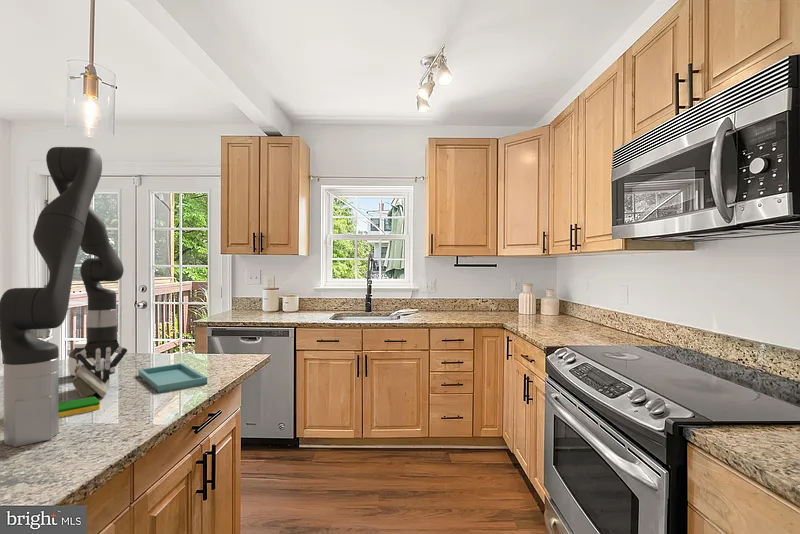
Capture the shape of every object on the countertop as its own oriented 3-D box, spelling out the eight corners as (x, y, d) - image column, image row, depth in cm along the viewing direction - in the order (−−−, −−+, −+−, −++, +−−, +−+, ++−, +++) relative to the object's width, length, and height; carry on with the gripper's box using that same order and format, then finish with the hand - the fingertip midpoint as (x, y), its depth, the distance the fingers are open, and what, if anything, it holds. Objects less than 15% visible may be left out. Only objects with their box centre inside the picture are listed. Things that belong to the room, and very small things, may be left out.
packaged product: (97, 389, 134) (71, 368, 131) (111, 378, 136) (86, 357, 133) (92, 406, 119) (62, 383, 116) (108, 393, 121) (79, 370, 117)
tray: (207, 384, 136) (207, 377, 136) (158, 393, 126) (158, 385, 126) (182, 369, 155) (182, 363, 155) (138, 376, 145) (138, 369, 145)
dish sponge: (100, 411, 112) (100, 402, 112) (31, 425, 102) (31, 415, 102) (95, 404, 117) (95, 396, 117) (28, 417, 108) (28, 407, 108)
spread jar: (64, 377, 143) (64, 343, 143) (97, 369, 154) (96, 337, 154) (90, 380, 140) (90, 345, 139) (122, 372, 150) (122, 339, 150)
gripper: (75, 328, 120) (75, 389, 120) (131, 323, 129) (130, 380, 129) (72, 325, 125) (72, 384, 125) (125, 321, 135) (125, 376, 135)
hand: (102, 382), depth 127 cm, fingers closed
